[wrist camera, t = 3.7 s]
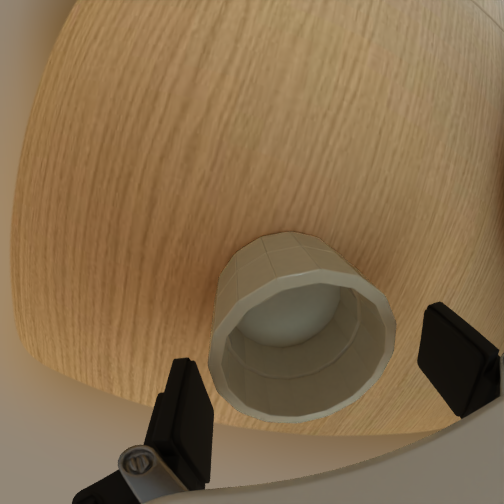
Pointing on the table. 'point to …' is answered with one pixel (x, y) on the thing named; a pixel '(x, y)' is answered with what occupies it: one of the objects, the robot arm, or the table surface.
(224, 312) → the beige round cup
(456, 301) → the table surface
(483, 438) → the robot arm
